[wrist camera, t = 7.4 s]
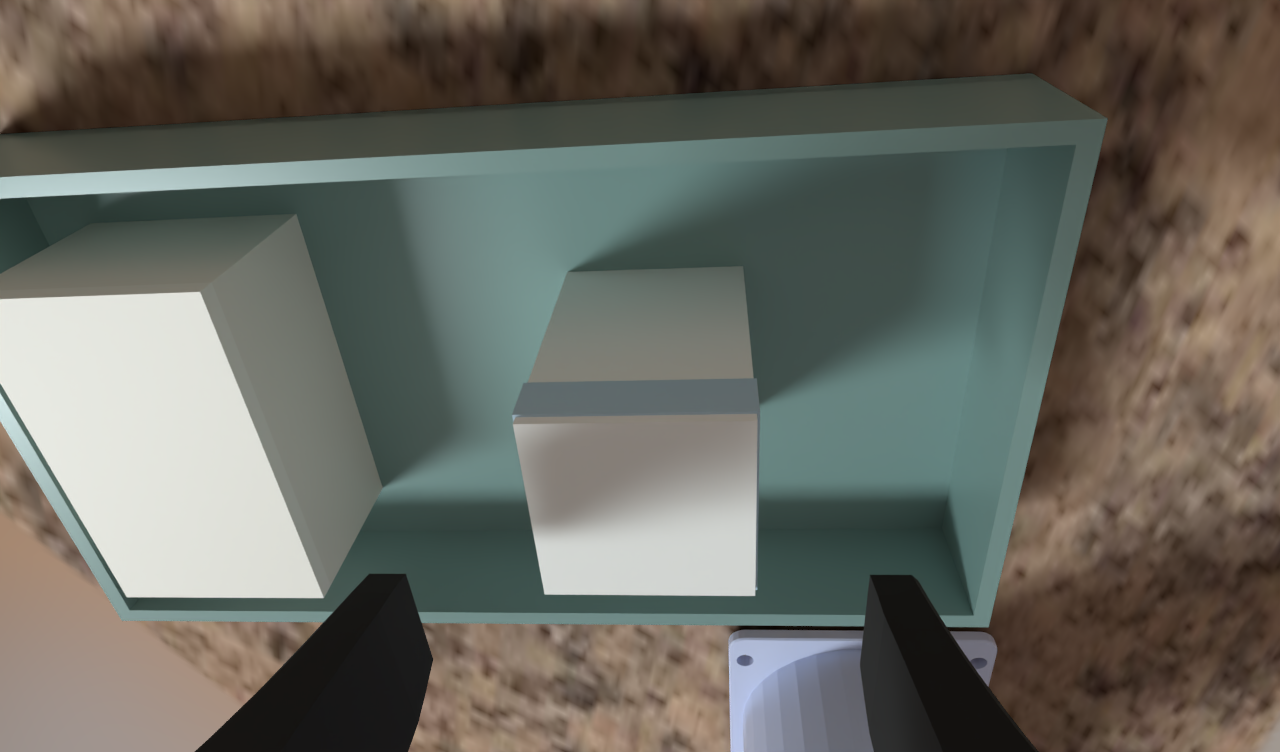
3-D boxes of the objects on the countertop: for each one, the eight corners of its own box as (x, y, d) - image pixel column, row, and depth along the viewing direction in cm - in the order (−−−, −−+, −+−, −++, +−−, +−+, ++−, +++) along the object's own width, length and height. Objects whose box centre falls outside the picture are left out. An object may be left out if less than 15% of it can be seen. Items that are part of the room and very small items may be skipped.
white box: (382, 487, 22) (323, 597, 19) (214, 489, 23) (126, 597, 19) (296, 214, 18) (200, 291, 14) (91, 223, 18) (-48, 300, 15)
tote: (950, 526, 22) (988, 627, 19) (193, 530, 24) (121, 620, 21) (1031, 73, 16) (1107, 118, 13) (-3, 134, 18) (-144, 184, 15)
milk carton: (745, 414, 20) (758, 597, 15) (583, 416, 20) (542, 596, 15) (745, 264, 18) (760, 417, 13) (564, 270, 18) (509, 421, 13)
